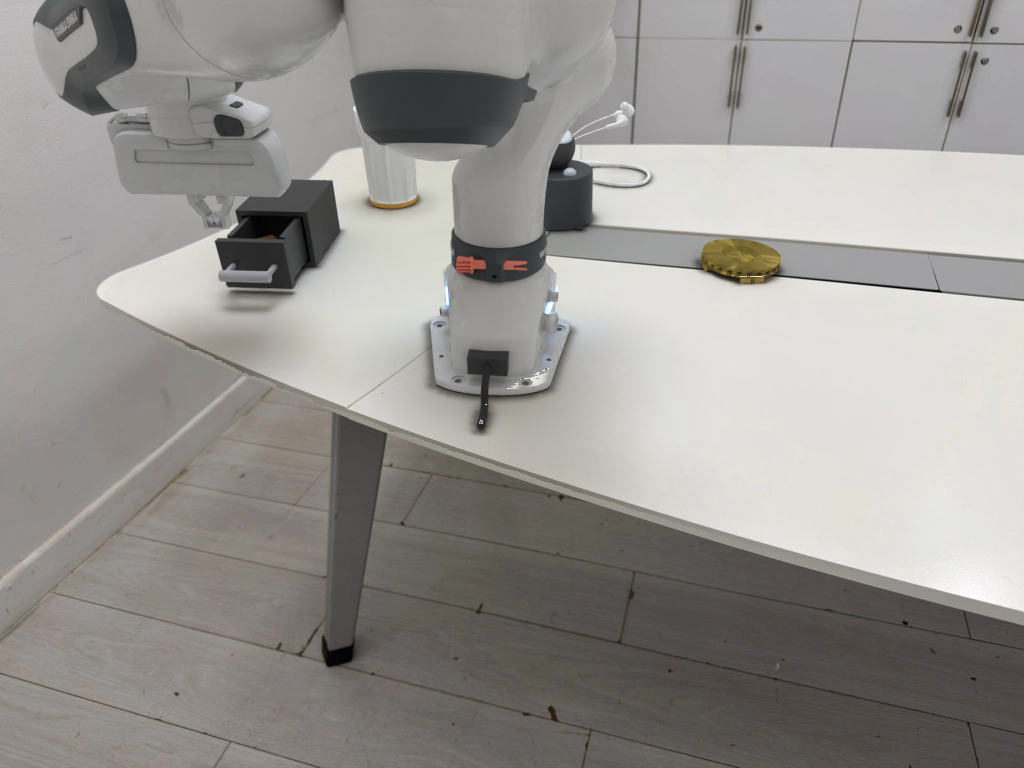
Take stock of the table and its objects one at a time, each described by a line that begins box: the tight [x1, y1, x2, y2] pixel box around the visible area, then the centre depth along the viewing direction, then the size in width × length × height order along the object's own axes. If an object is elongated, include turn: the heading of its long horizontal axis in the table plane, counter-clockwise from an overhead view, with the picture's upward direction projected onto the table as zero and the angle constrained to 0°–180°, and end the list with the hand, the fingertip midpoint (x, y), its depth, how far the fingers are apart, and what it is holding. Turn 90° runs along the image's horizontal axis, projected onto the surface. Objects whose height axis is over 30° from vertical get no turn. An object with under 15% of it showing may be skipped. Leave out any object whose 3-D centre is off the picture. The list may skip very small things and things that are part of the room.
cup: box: [352, 105, 418, 210], centre depth 126 cm, size 11×11×17 cm
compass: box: [700, 237, 782, 284], centre depth 107 cm, size 12×12×2 cm
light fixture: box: [543, 128, 594, 232], centre depth 120 cm, size 13×16×14 cm
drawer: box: [214, 215, 310, 290], centre depth 101 cm, size 18×10×7 cm, turn 177°
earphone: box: [572, 101, 652, 188], centre depth 142 cm, size 14×17×18 cm
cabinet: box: [234, 178, 341, 268], centre depth 111 cm, size 15×11×9 cm
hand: (218, 227), depth 86 cm, fingers closed
